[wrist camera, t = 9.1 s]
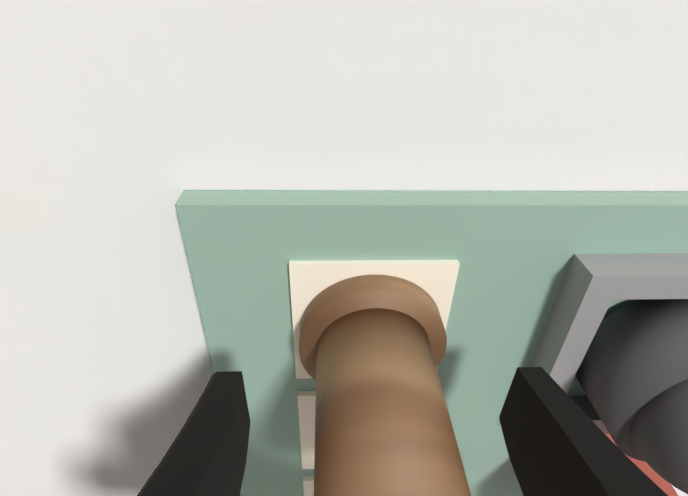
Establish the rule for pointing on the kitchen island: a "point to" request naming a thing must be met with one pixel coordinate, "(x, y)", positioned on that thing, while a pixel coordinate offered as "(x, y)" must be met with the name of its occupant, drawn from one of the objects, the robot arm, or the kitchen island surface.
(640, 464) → the die
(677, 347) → the dark gray round knob
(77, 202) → the kitchen island surface
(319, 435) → the flanged wooden peg
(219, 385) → the robot arm
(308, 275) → the board
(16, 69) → the kitchen island surface
